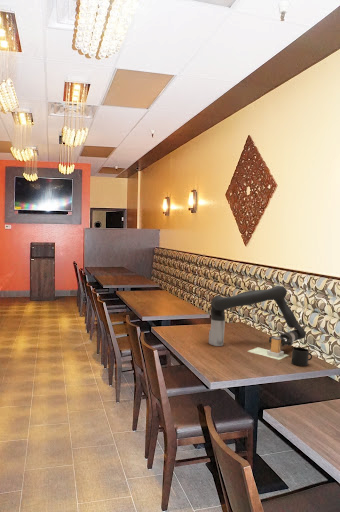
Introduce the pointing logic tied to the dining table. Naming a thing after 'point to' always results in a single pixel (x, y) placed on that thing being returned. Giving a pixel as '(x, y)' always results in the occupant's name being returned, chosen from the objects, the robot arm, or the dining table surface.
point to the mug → (300, 356)
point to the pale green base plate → (268, 353)
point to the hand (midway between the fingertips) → (276, 342)
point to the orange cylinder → (276, 344)
